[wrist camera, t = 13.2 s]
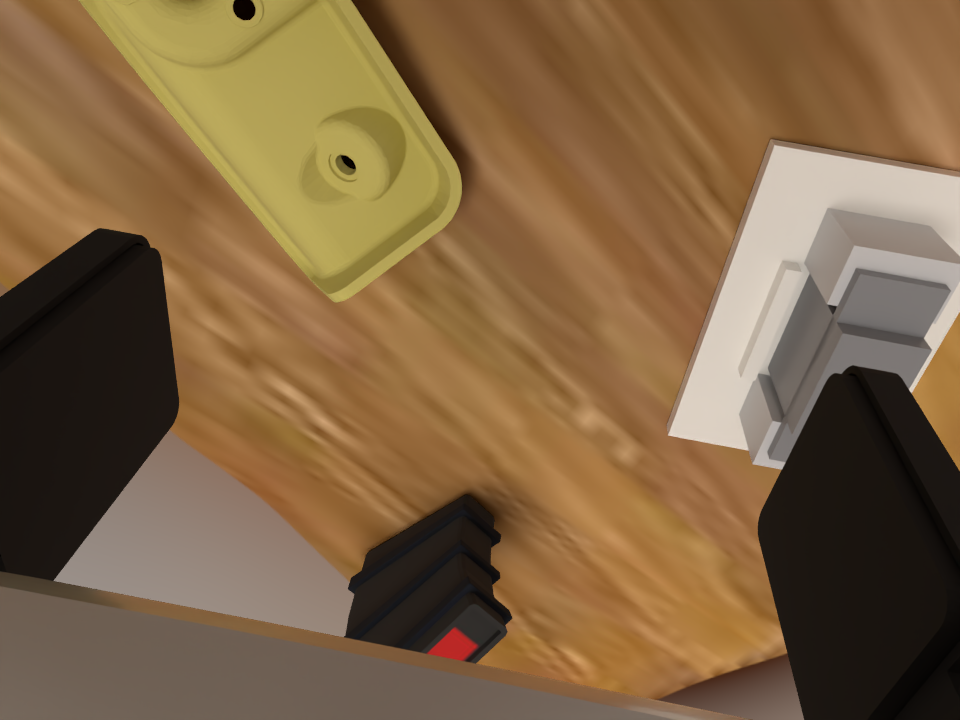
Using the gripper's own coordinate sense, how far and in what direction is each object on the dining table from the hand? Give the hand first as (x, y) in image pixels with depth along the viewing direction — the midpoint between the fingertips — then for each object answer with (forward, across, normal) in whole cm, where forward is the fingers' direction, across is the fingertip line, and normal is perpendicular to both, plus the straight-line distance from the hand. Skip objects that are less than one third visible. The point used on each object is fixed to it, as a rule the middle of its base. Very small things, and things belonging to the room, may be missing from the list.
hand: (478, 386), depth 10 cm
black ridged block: (+28, +2, +34) cm, 44 cm away
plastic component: (+29, +13, +4) cm, 32 cm away
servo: (+27, -17, +12) cm, 34 cm away
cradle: (+28, -17, +12) cm, 35 cm away
